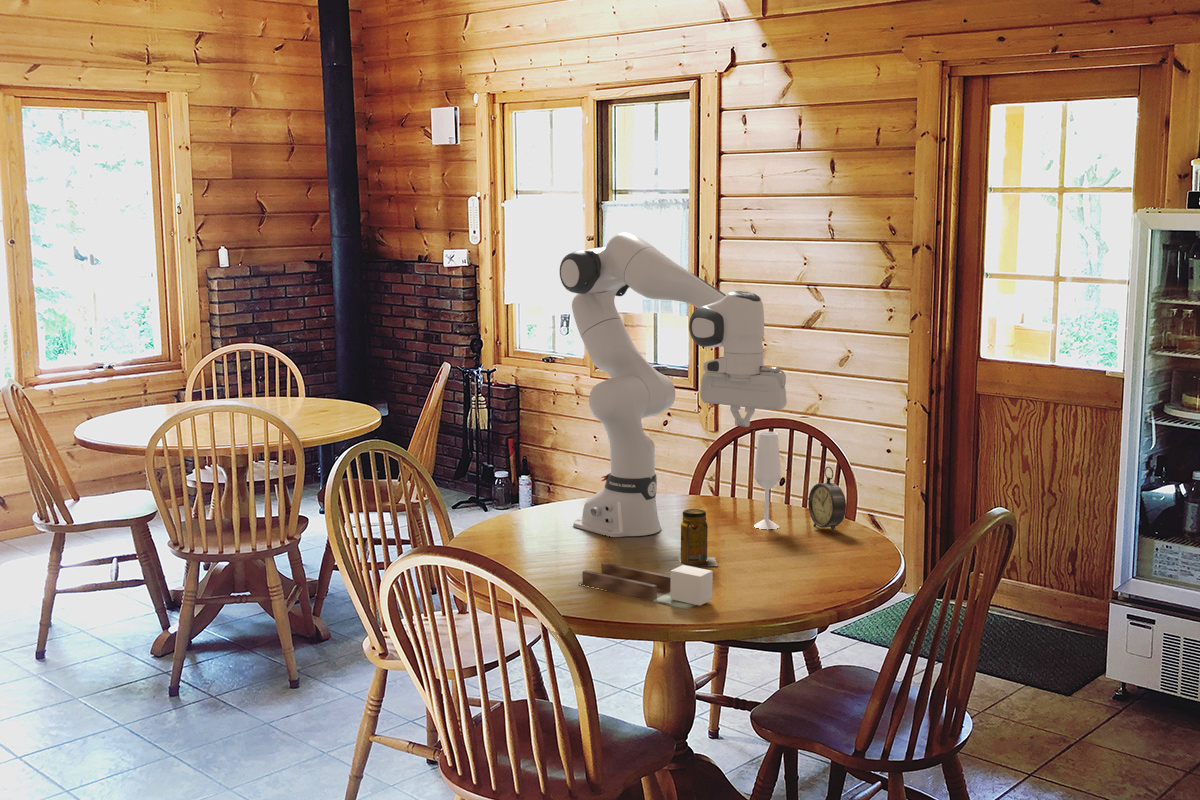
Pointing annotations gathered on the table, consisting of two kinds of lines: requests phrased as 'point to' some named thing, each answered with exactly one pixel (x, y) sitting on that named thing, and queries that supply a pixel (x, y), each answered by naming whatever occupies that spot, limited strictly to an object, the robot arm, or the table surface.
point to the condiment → (694, 539)
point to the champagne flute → (767, 471)
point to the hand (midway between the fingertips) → (742, 426)
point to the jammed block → (691, 585)
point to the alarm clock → (827, 504)
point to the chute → (633, 584)
